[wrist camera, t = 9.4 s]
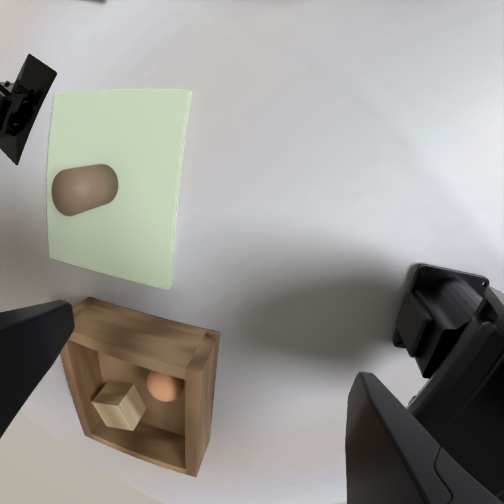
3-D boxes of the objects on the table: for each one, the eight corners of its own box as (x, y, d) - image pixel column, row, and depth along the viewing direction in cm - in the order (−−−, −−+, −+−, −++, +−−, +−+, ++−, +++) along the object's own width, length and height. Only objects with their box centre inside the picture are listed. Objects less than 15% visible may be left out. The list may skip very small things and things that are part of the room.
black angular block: (20, 184, 24) (-15, 192, 19) (-11, 148, 23) (-44, 153, 19) (74, 61, 19) (37, 53, 15) (35, 38, 19) (1, 30, 15)
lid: (195, 92, 19) (163, 76, 14) (174, 284, 24) (144, 316, 19) (63, 95, 20) (19, 90, 16) (57, 253, 25) (19, 273, 20)
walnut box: (220, 332, 24) (200, 372, 19) (209, 440, 28) (196, 477, 23) (88, 296, 25) (54, 323, 20) (106, 405, 29) (84, 435, 25)
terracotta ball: (189, 363, 24) (176, 387, 21) (188, 389, 25) (176, 413, 22) (155, 353, 24) (139, 375, 21) (156, 380, 25) (142, 402, 22)
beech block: (133, 383, 26) (118, 405, 23) (146, 408, 27) (133, 430, 24) (107, 381, 27) (91, 402, 24) (121, 405, 27) (106, 426, 24)
